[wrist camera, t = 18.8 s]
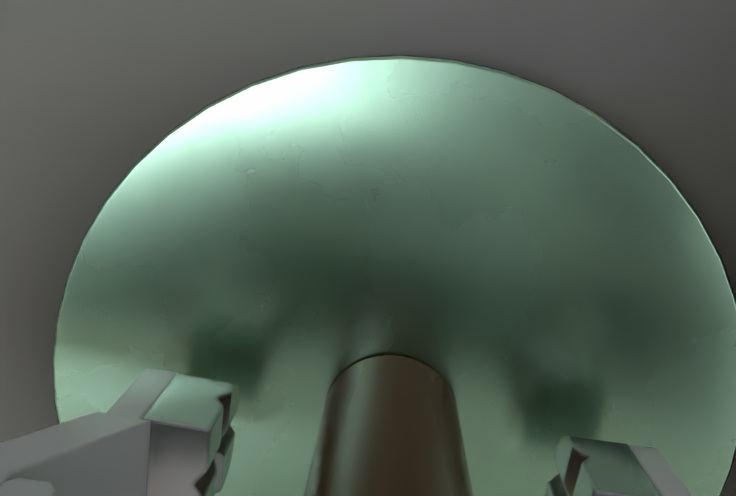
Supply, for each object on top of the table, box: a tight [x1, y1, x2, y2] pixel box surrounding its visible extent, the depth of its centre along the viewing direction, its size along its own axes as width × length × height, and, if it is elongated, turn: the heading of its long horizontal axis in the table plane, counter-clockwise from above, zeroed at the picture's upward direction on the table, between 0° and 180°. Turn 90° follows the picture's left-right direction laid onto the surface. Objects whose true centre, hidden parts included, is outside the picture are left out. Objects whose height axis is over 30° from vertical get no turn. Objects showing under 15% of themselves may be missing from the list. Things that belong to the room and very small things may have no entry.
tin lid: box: [53, 55, 736, 496], centre depth 10 cm, size 12×12×6 cm
